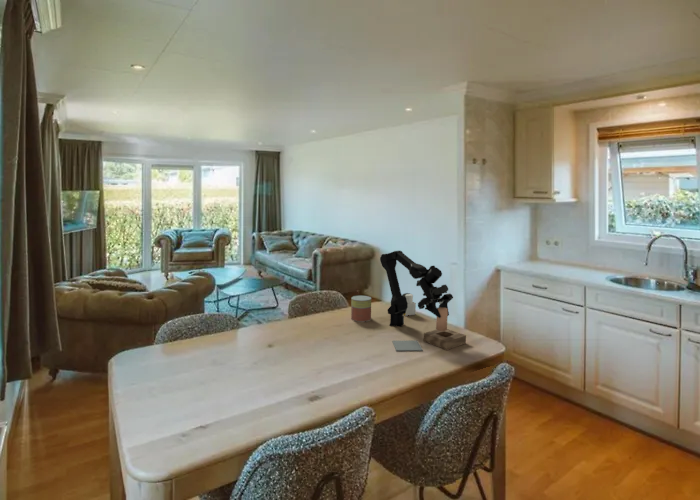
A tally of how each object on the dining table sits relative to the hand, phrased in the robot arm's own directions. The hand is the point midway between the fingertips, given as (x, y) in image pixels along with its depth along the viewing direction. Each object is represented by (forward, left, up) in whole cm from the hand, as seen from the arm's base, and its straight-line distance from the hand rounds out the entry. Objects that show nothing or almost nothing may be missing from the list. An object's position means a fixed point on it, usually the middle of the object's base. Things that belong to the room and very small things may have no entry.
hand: (444, 316), depth 198 cm
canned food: (-48, +26, -14) cm, 56 cm away
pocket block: (0, +3, -13) cm, 14 cm away
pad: (-16, -8, -13) cm, 22 cm away
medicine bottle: (-25, +44, -14) cm, 52 cm away
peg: (-1, +1, -7) cm, 7 cm away
